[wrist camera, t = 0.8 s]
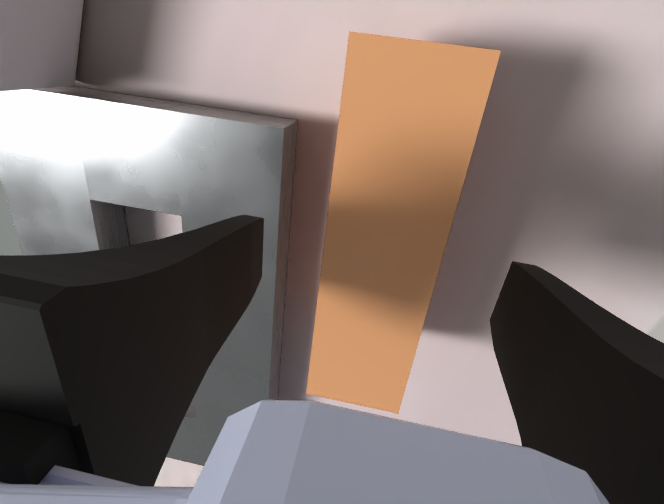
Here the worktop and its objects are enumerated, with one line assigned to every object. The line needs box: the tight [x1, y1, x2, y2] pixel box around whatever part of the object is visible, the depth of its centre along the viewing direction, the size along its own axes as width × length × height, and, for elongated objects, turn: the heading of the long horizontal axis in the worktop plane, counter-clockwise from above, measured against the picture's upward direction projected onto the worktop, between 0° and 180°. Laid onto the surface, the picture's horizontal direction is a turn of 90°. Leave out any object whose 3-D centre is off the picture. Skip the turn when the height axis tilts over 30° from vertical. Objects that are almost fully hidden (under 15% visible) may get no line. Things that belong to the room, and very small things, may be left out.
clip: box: [306, 32, 501, 414], centre depth 14 cm, size 12×4×5 cm, turn 173°
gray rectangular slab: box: [0, 86, 298, 466], centre depth 19 cm, size 20×12×2 cm, turn 173°
